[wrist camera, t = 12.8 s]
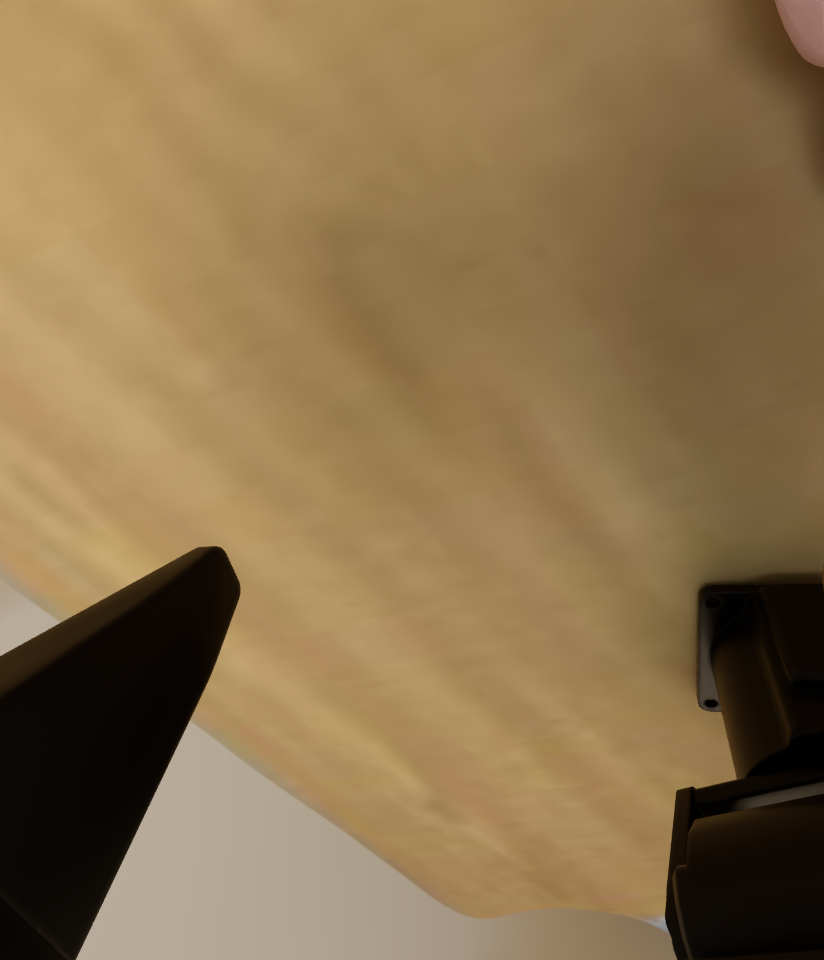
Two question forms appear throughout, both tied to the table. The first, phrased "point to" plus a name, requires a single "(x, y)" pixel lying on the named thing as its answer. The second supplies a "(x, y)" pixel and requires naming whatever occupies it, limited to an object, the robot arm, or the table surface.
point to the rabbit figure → (804, 27)
